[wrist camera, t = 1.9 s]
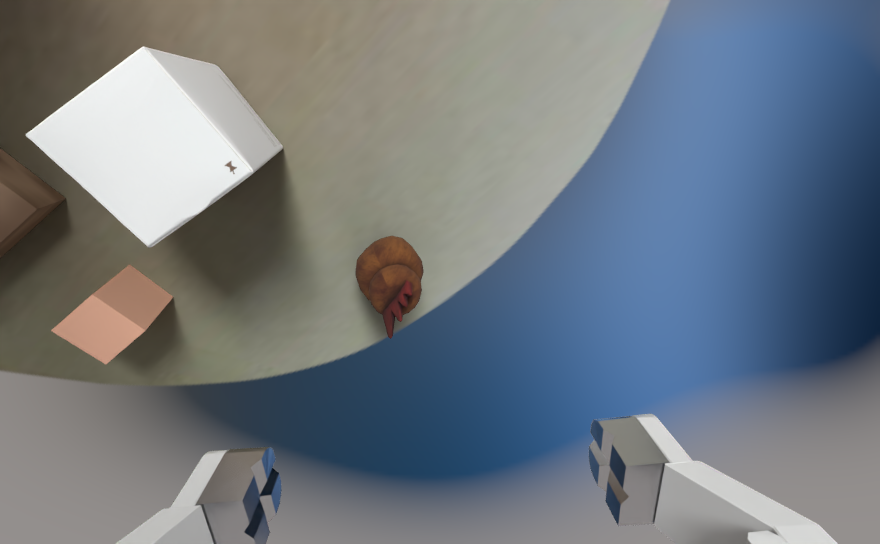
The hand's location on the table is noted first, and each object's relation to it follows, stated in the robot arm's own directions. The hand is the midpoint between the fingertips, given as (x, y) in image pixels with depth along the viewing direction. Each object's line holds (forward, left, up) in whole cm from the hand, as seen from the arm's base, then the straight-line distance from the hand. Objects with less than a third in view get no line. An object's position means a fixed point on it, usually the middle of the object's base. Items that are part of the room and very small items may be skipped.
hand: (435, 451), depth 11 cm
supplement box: (-12, -7, -37) cm, 39 cm away
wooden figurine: (+8, -3, -37) cm, 38 cm away
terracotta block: (-6, -25, -36) cm, 45 cm away
